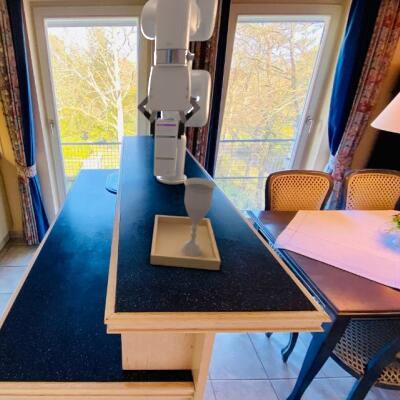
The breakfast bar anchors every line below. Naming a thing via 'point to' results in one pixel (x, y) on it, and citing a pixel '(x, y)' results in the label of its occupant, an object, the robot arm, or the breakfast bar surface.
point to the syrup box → (165, 146)
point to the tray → (175, 239)
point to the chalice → (196, 209)
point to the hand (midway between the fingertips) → (166, 137)
